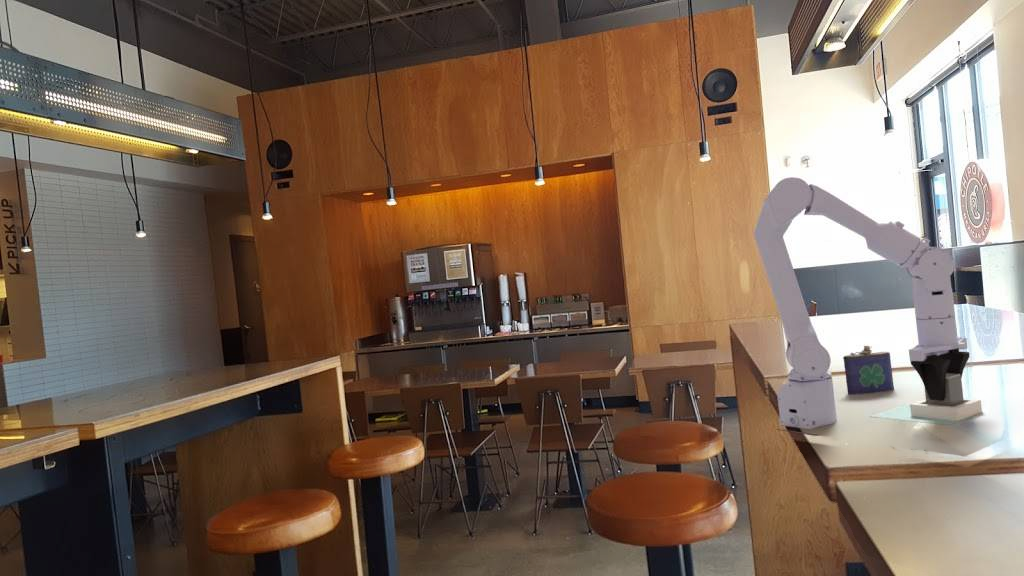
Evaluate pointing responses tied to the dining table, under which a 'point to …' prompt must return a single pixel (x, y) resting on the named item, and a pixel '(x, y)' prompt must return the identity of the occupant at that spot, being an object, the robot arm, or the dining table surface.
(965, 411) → the socket
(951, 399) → the grey block
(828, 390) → the robot arm
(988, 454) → the dining table surface
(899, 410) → the translucent flat sheet
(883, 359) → the flask
